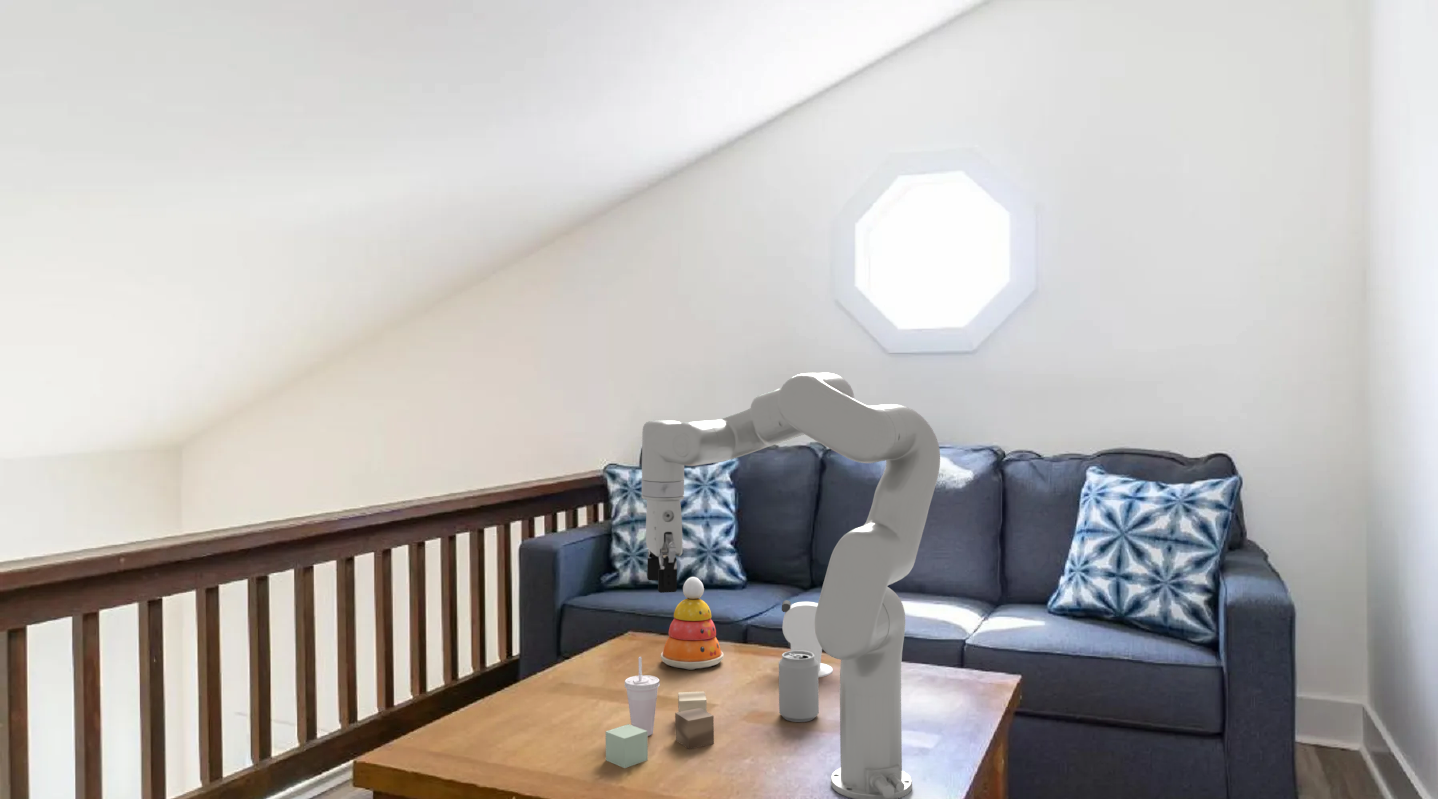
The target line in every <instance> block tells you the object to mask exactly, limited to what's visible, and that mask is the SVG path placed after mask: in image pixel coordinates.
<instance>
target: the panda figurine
mask: <svg viewBox="0 0 1438 799" xmlns="http://www.w3.org/2000/svg"><path fill="white" fill-rule="evenodd" d="M781 603H782V604H781V611H782V612H783V613H784V615H783V618H782V619H783V620H782V633H783V636H784V638H785V640H786V641H787V645H788V648H789V649H790V651H808V652H811V653H813V654H814V655H815V657H814V658H815V659H816V661H817V662H818V678H822V677H827V676H829V675H831V674H833V672H834V671H833V667H832V666H830V665H829V664H828V663H827V664H826V663H822V652H823V651H824V650H823V649H822V647H821V646H820V644H819V642H818V640H817V638H816V634H815V625H814V623H815V614H816V609H817V605H818V602H814V601H798V602H795V603H792V602H791V601H790V600H787V599H786V600H783V601H782V602H781Z"/></svg>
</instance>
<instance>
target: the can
mask: <svg viewBox="0 0 1438 799" xmlns="http://www.w3.org/2000/svg"><path fill="white" fill-rule="evenodd" d="M814 657H815V655H814V654H813V653H811V652H808V651H791V650H789V651H785V652H783V653H782V654H781V659H780V660H779V661H778V702H779V703H778V707H779V708H778V710H779V712H778V713H779V714H780V715H781V716H782V718H783V719H784V720H787V721H789V722H795V723H803V722H804V723H805V722H809V721H810V722H811V721H812V720H814V719H815V718H816V717H817V716H818V714H819V713H820V712H819V709H820V708H819V703H820V702H819V677H818V662H817V661H816V659H815V658H814Z"/></svg>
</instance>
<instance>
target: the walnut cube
mask: <svg viewBox="0 0 1438 799" xmlns="http://www.w3.org/2000/svg"><path fill="white" fill-rule="evenodd" d="M674 714H675V715H674V718H675V719H674V720H675V724H674V725H675V726H674V727H675V730H674V732H675V741H677V742H678V743H679V744H681V745H682V746H684V747H685V748H686V749H688V750H691V749H695V748H700V747H705V746H709V745H713V744H715V733H714V732H715V730H714V728H715V725H714V723H715V722H714V720H715V718H714V717H715V716H714V715H713V714H711V713H709V712H708V711H707V712H706V711H704V710H703V709H701V708H697V709H692V710H687V711H682V712H678V711H677V712H675V713H674Z"/></svg>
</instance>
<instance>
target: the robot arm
mask: <svg viewBox="0 0 1438 799" xmlns="http://www.w3.org/2000/svg"><path fill="white" fill-rule="evenodd" d="M641 435H642V437H641V438H642V440H641V441H642V445H641V446H642V447H641V449H642V452H641V499H643V500H646V514H645V515H646V519H645V544H646V548H647V549H648V550H647V560H646V561H647V564H646V565H647V568H646V573H647V576H646V577H647V580H648V581H657V590H658V593H662V594H663V593H676V592H677V591H678V588H677V586H678V565H677V561H678V560H677V556H678V557H680V556H681V555H682V554H683V550H684V549H683V518H682V507H681V506H682V505H681V500H684V498H685V466H687V467H695V466H702V465H707V464H712V463H713V464H715V463H723V462H727V461H730V460H733V459H736V458H737V459H738V458H740V457H743V456H746V455H749V454H752V453H754V452H757V451H760V450H763V449H765V448H768V447H773V446H775V445H777V444H781V443H784V442H786V441H787V442H788V441H790V440H792V439H794V438H798V437H801V436H804V435H805V436H807V437H809V439H813V440H814V441H816V442H817V443H819V444H821V445H823V446H824V447H826V448H827V449H830V450H832V451H834V452H835V453H837V454H839V455H840V456H843V457H845V458H846V459H848V460H850V461H853V462H857V463H859V464H860V463H862V464H874V463H879V462H880V463H881V462H883V461H886V462H885V469H884V470H883V474H882V476H881V477H880V479H879V481H878V483H877V486H876V488H875V491H874V495H873V499H872V504H871V506H870V507H871V508H870V510H869V513H868V516H867V519H866V522H865V523H864V524H863V525H861V526H859V527H855V528H853V529H851V530H850V531H848V532H847V533H844V534H843V536H842V537H841V538H840V539H839V540H838V542H837V543H836V545H835V547H834V548H833V550H832V553H831V555H830V559H829V562H828V566H827V569H826V573H825V577H824V581H823V584H822V588H821V591H820V595H819V599H818V602H817V603H818V605H817V609H816V614H815V623H814V625H815V634H816V638H817V640H818V642H819V644H820V646H821V647H822V649H823V651H824V652H825V653H826V654H827V655H829V657H831V658H834V659H837V660H840V663H839V664H840V665H839V667H840V668H839V727H840V728H839V730H840V731H839V734H840V735H839V741H840V742H839V743H840V767H838V769H835V771H833V772H832V774H831V775H830V785H831V787H832V789H833V790H834V791H836V792H837V794H840V795H841V796H843V797H846V798H849V799H901V798H903V797H905V796H907V795H908V794H909V793H910V792H911V791H912V789H913V780H912V777H911V776H910V774H908V773H907V772H905V771H904V770H903V763H902V762H903V755H902V753H903V752H902V751H903V750H902V749H903V748H902V747H903V746H902V745H903V744H902V741H903V740H902V738H903V737H902V662H903V661H902V658H903V647H904V640H905V632H906V611H905V608H904V605H903V602H902V600H901V598H900V597H899V595H898V594H897V593H896V592H895V591H894V590H893V589H891V588H890V587H888V586H889V585H893V584H894V583H897V582H898V581H901V580H903V579H904V578H905V577H907V576H908V575H909V574H910V573H911V571H912V569H913V568H914V565H915V563H916V559H917V555H918V551H919V547H920V545H921V541H922V536H923V533H924V530H925V527H926V526H925V525H926V522H927V519H928V515H929V514H928V513H929V509H930V507H931V506H930V505H931V502H932V499H933V495H934V492H935V488H936V485H937V481H938V478H939V477H938V476H939V473H940V467H941V450H940V445H939V442H938V441H939V440H938V438H937V436H936V433H935V432H934V429H933V427H932V426H931V425H930V424H929V422H928V421H927V420H926V419H925V417H923V416H922V415H921V414H920V413H918V412H917V411H915V409H913V408H910V407H908V406H905V405H901V404H895V403H893V404H892V403H890V404H886V403H885V404H878V405H867V404H864V403H862V402H860V401H858V400H856V399H855V395H854V390H853V388H852V387H851V385H850V384H849V382H848V381H847V380H846V379H845V378H844V377H842V376H840V375H838V374H835V373H831V372H806V373H800V374H796V375H794V376H791V377H790V378H788V380H786V381H785V383H783V385H782V386H781V387H780V388H777V389H774V390H772V391H771V390H770V391H769V392H765V393H762V394H760V395H757V396H756V397H755V398H753V400H752V402H751V404H750V407H749V408H748V409H746V410H744V411H741V412H738V413H735V414H733V415H730V416H725V417H722V418H719V419H711V420H709V419H708V420H698V421H689V422H688V421H687V422H681V421H679V420H678V421H677V420H667V419H657V420H656V419H655V420H654V419H653V420H648V421H646V422H645V423H643V426H642V434H641Z"/></svg>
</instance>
